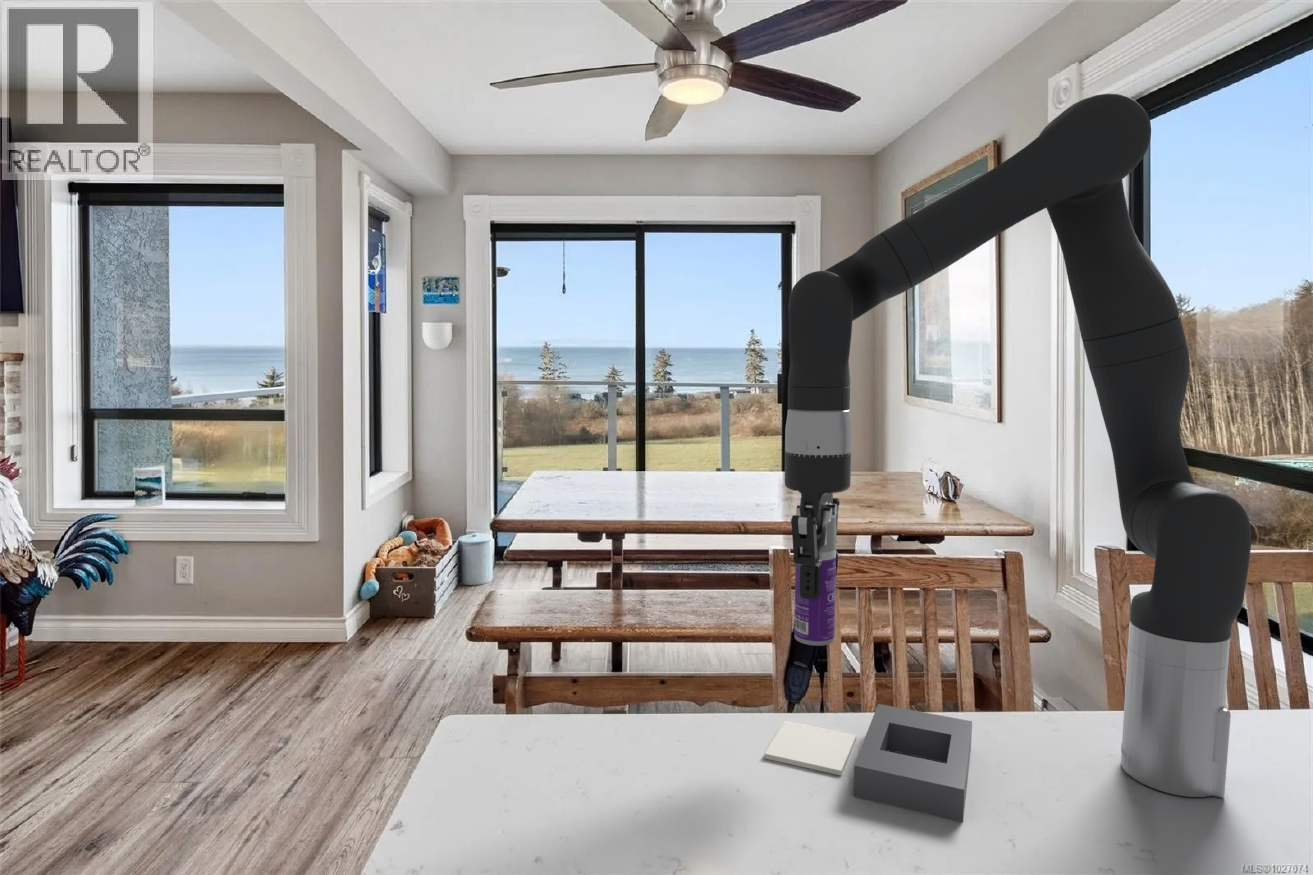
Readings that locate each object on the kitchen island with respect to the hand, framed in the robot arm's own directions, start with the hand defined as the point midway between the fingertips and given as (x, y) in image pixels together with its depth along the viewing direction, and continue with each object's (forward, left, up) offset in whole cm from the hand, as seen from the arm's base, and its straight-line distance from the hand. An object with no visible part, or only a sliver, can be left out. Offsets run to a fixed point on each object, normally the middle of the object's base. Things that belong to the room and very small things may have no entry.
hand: (815, 590), depth 90 cm
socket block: (-12, 0, -20) cm, 23 cm away
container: (0, 0, -6) cm, 6 cm away
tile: (0, 0, -20) cm, 20 cm away
